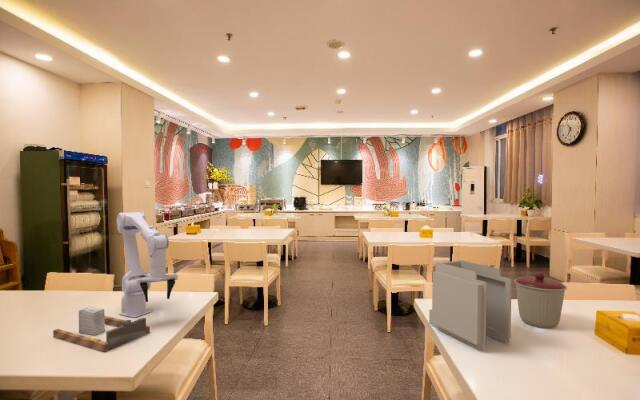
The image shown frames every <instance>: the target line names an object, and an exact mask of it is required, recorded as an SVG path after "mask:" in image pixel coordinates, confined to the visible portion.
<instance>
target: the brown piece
mask: <svg viewBox="0 0 640 400" xmlns="http://www.w3.org/2000/svg"><path fill="white" fill-rule="evenodd" d="M104 316H105V325H107V326H112V327H115V328H112V329H110V330H107V331H106V332H105V333H106V337H105V338H106V339H105V340H106V341H103V340H101V339H99V338H96V337H90V336H89V337H88V336H85V335H81V334H79V333H74V332H70V331H68V330H65V329H61V328H57V329H53V333H52V334H53V335H52V336H53V338H55V339H58V340H62V341H65V342H67V343H72V344H75V345H78V346H82V347H85V348H88V349H92V350H95V351H98V352H102V353H106V352H109V351H111V350H114V349H117V348H118V347H120V346H122V345H124V344H128V343H129V342H132V341H134V340H136V339H139V338H141V337H144V336H146V335H148V334H150V332H151V331H150V330H151V329H150V328H151V327H150V325H147V318H146V317H142V318H141V317H140V318H139V319H135V320H134V321H132V319H125V320H124V319H122V318H121V319H120V318H117V317H112V316H108V315H104Z"/></svg>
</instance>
